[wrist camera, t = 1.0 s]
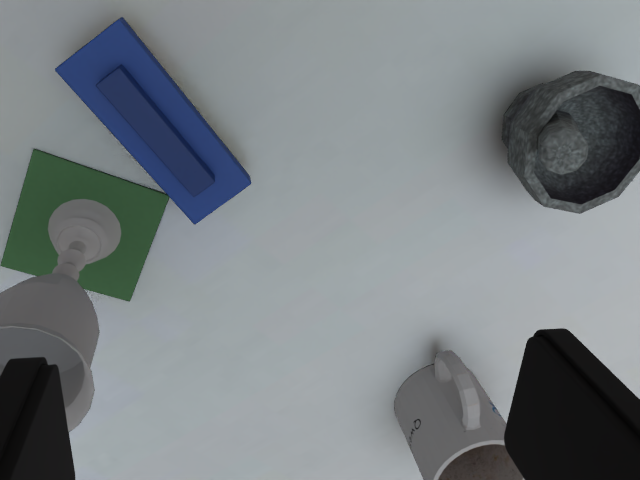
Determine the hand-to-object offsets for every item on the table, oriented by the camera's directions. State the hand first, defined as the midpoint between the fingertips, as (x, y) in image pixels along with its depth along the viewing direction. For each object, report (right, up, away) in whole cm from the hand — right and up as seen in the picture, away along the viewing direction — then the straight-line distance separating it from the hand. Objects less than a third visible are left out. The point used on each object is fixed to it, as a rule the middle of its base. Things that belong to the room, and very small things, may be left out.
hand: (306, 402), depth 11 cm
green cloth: (-17, +4, +31) cm, 36 cm away
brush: (-11, +12, +29) cm, 33 cm away
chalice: (-17, +4, +31) cm, 36 cm away
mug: (+12, -11, +44) cm, 47 cm away
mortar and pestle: (+17, +13, +34) cm, 40 cm away
